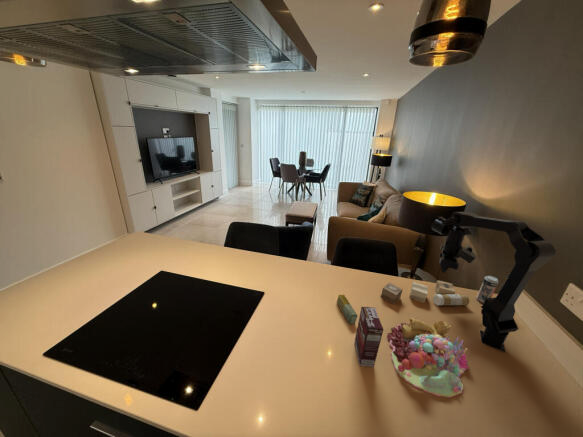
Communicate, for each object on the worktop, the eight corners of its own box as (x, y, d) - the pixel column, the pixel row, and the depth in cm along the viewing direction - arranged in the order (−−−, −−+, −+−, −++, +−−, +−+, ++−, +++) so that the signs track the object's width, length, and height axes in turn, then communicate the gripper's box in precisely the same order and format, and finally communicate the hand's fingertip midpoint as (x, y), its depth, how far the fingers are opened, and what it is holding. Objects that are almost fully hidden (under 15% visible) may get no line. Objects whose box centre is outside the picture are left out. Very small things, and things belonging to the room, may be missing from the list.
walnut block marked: (393, 304, 98) (396, 294, 96) (380, 297, 102) (383, 287, 100) (400, 298, 102) (402, 288, 100) (387, 291, 106) (389, 282, 104)
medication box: (355, 324, 87) (358, 316, 86) (349, 324, 86) (351, 316, 85) (341, 301, 98) (344, 294, 96) (336, 302, 97) (338, 294, 96)
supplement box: (353, 342, 79) (360, 305, 73) (367, 343, 79) (376, 307, 73) (358, 366, 71) (367, 327, 65) (374, 368, 71) (384, 328, 65)
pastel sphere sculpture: (381, 322, 89) (386, 303, 85) (446, 332, 86) (454, 313, 82) (398, 389, 66) (406, 366, 62) (489, 407, 62) (502, 384, 59)
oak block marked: (452, 300, 102) (455, 291, 100) (436, 296, 104) (440, 287, 102) (449, 292, 107) (452, 283, 106) (434, 289, 109) (437, 280, 108)
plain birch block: (424, 303, 100) (427, 294, 98) (409, 297, 102) (411, 288, 101) (424, 295, 105) (427, 286, 103) (410, 290, 107) (413, 281, 106)
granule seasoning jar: (459, 300, 103) (431, 300, 101) (463, 291, 101) (434, 292, 100) (468, 307, 98) (438, 307, 97) (471, 298, 97) (441, 299, 96)
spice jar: (477, 301, 102) (486, 279, 98) (474, 295, 106) (484, 273, 102) (490, 305, 100) (500, 283, 96) (487, 299, 104) (497, 277, 100)
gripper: (480, 255, 84) (466, 290, 90) (475, 238, 99) (464, 268, 105) (445, 246, 90) (434, 280, 95) (445, 231, 105) (435, 260, 110)
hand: (443, 272), depth 101 cm, fingers closed
